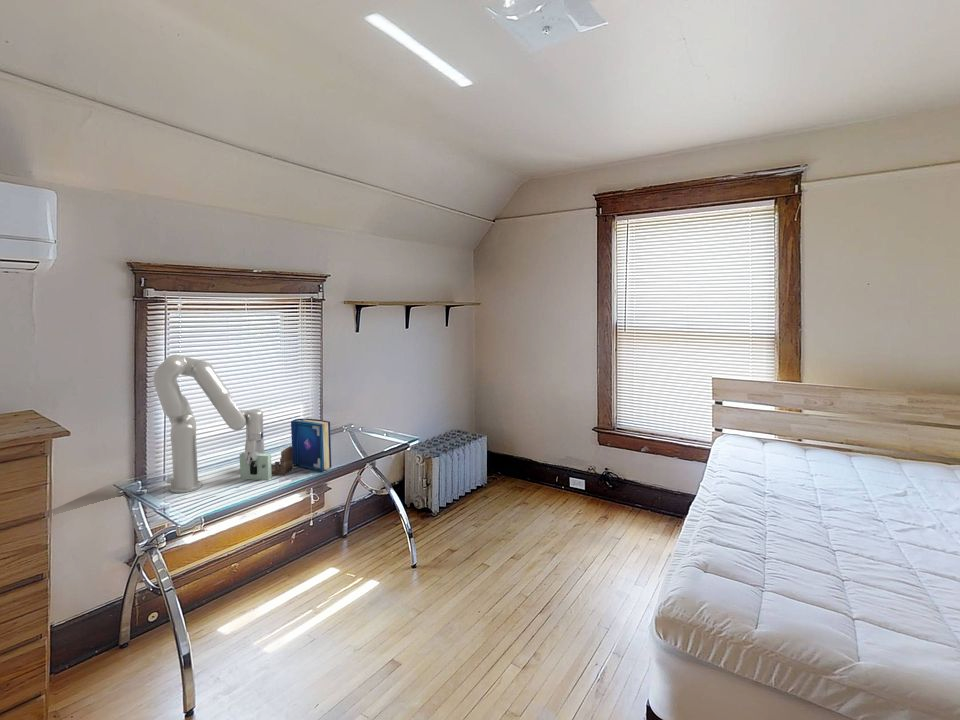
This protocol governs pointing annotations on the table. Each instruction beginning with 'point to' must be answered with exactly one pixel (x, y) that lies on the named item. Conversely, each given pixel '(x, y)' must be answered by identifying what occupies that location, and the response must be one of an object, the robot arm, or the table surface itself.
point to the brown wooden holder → (283, 462)
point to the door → (262, 467)
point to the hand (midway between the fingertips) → (255, 472)
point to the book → (311, 443)
